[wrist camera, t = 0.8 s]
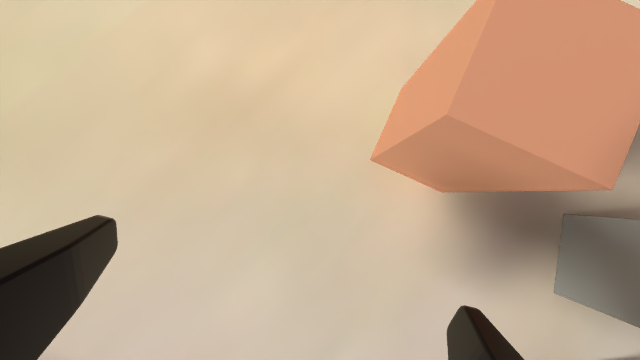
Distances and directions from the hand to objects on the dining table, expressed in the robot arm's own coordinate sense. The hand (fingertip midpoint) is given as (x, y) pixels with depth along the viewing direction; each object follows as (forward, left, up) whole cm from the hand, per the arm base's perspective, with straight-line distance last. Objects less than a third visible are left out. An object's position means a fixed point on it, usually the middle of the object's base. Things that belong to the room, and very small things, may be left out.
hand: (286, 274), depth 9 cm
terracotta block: (+4, -8, -13) cm, 16 cm away
